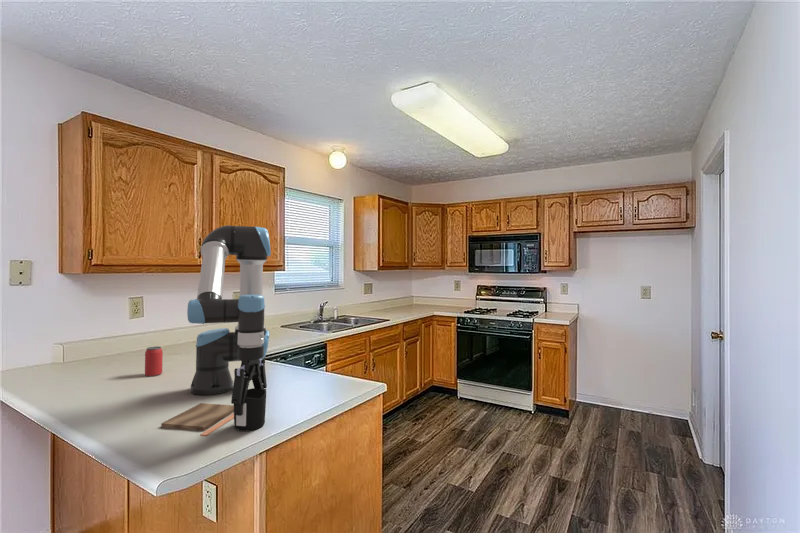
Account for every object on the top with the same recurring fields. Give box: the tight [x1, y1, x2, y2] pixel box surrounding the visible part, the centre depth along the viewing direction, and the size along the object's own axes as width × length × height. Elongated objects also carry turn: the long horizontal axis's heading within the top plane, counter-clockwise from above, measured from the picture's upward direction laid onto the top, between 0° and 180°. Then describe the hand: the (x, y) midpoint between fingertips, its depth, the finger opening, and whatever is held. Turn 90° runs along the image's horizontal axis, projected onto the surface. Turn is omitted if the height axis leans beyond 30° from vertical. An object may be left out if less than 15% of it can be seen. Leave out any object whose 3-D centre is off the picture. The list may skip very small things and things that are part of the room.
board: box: [161, 402, 234, 432], centre depth 125 cm, size 14×18×1 cm
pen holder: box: [233, 387, 267, 432], centre depth 120 cm, size 9×9×10 cm
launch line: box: [200, 412, 234, 437], centre depth 124 cm, size 2×24×1 cm, turn 171°
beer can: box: [144, 346, 164, 377], centre depth 174 cm, size 7×7×12 cm
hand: (249, 419), depth 120 cm, fingers closed on pen holder, 9 cm apart
